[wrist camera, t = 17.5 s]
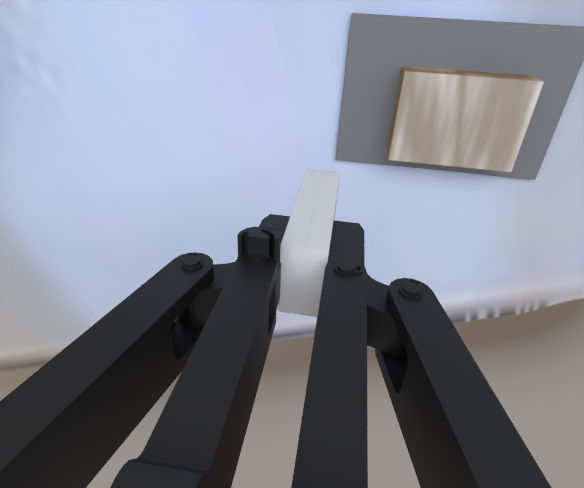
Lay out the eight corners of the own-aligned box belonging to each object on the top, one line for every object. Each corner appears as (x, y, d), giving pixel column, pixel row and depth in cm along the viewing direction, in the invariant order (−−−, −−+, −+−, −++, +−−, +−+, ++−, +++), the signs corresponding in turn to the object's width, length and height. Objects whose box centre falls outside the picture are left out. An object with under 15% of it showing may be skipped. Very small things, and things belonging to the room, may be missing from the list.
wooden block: (388, 159, 34) (511, 172, 32) (405, 71, 30) (544, 81, 29) (387, 148, 36) (500, 159, 35) (401, 66, 32) (529, 75, 31)
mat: (336, 157, 38) (335, 159, 37) (352, 13, 32) (351, 13, 31) (532, 176, 36) (535, 179, 35) (592, 27, 30) (596, 27, 29)
